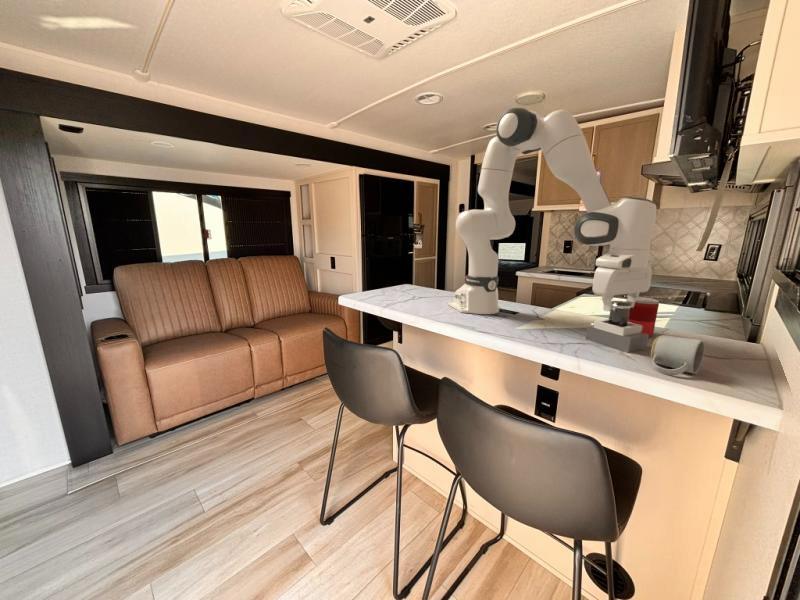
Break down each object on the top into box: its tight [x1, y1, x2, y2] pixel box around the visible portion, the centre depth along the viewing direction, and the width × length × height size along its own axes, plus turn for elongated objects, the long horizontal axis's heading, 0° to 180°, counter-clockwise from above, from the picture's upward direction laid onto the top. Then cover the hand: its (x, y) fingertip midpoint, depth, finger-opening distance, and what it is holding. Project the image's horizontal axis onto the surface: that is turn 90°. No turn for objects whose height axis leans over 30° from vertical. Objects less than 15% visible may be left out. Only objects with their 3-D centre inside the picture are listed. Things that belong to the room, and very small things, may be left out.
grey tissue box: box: [585, 318, 649, 353], centre depth 88 cm, size 12×8×6 cm, turn 24°
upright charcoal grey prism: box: [608, 300, 631, 327], centre depth 87 cm, size 5×5×8 cm
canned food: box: [626, 296, 660, 338], centre depth 97 cm, size 8×8×11 cm
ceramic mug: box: [650, 334, 706, 376], centre depth 71 cm, size 11×8×8 cm
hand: (618, 309), depth 87 cm, fingers open, 8 cm apart
